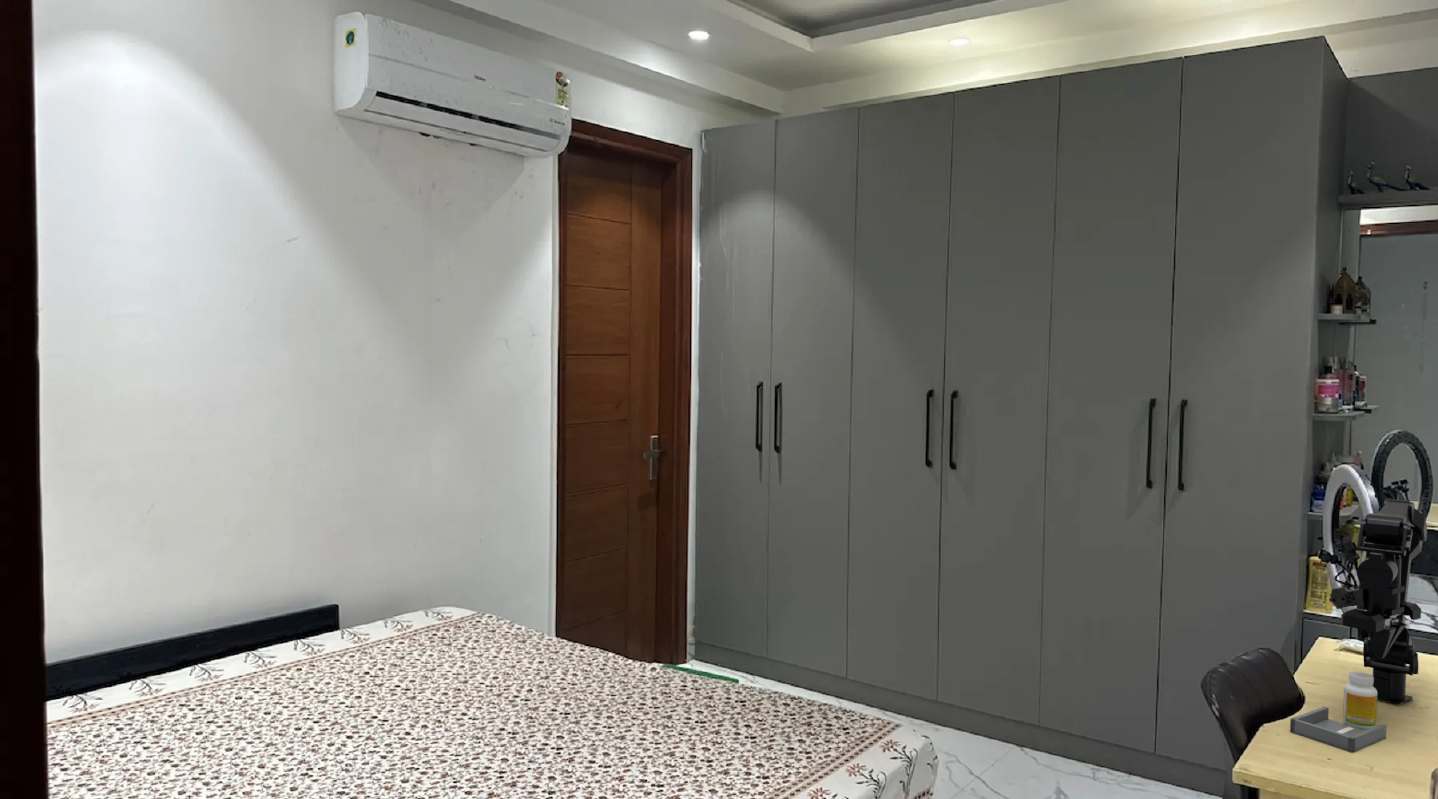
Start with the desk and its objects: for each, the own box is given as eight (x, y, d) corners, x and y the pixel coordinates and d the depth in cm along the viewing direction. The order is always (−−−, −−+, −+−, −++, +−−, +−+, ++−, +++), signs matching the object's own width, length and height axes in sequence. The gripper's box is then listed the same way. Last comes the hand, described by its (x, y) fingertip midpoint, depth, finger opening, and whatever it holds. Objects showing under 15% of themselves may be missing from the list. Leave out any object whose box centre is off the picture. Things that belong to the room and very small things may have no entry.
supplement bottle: (1381, 730, 184) (1383, 680, 184) (1350, 728, 185) (1351, 678, 185) (1368, 720, 190) (1370, 671, 189) (1338, 718, 191) (1339, 669, 190)
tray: (1323, 718, 190) (1324, 706, 190) (1386, 738, 181) (1386, 725, 181) (1290, 731, 184) (1290, 718, 184) (1352, 752, 175) (1353, 738, 174)
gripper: (1362, 565, 201) (1359, 639, 202) (1314, 577, 192) (1311, 654, 193) (1423, 576, 192) (1420, 654, 193) (1375, 589, 182) (1372, 671, 183)
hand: (1379, 658), depth 190 cm, fingers closed
